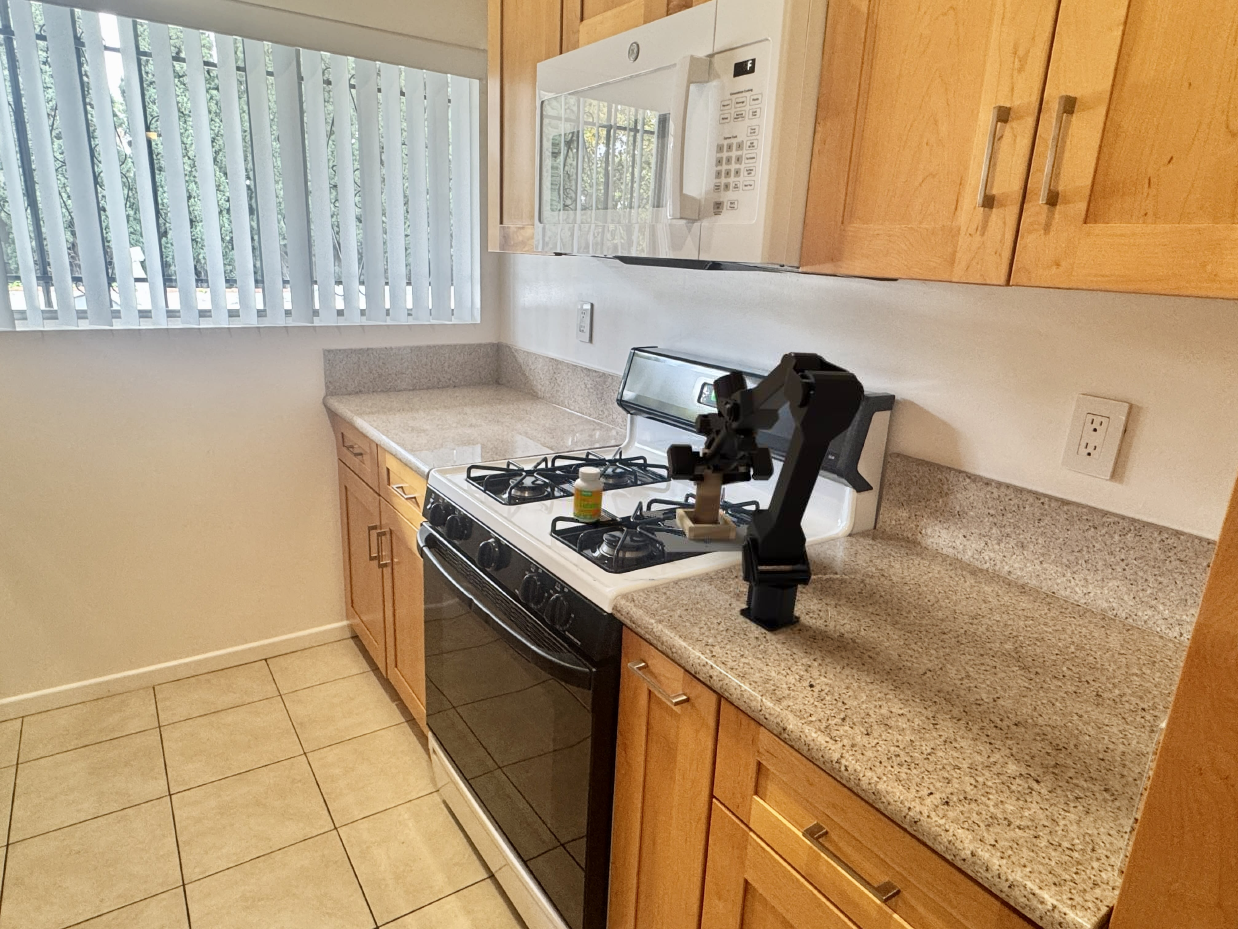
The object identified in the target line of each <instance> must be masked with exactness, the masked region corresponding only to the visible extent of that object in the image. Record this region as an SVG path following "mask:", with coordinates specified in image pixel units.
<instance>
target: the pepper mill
mask: <svg viewBox="0 0 1238 929" xmlns="http://www.w3.org/2000/svg"><path fill="white" fill-rule="evenodd" d="M703 452H708V449H705V446H704V447H702V448H701V456H703ZM703 476H704V481H703V482H702V483H700V484H699V485H696V490H695V501H694V508H693V509H694V518H693V521H694V522H695V523H697V524H718V516H719V509H720V507H721V505H720V504H721V497H722V488H723V486H722V481H723V474H721V473H712V472H711V470H705V471H704V473H703Z"/></svg>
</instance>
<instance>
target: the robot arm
mask: <svg viewBox="0 0 1238 929" xmlns="http://www.w3.org/2000/svg"><path fill="white" fill-rule="evenodd" d="M712 387H713V392H714V399H715V406H716V409H717V412H708V413H699V414H698V415H697V416H696V417H695V422H694V428H695V432H696V434H698V435H703V436H705V437H706V439H705V441H704V444H703V445H704V447H705V449H708V452H703V456H702V455H701V451H699V450H693V446H692V445H691V443H690V444H689V443H688V444H687V443H685V444H684V443H672V444H670V445H669V446H668V448H667V451H666V458H667V463H668V464H667V465H668V472H669V478H670V479H671V480H673V481H689V482H693V486H694V487H695V486H696V487H697V485H699V484H700V483H702V482H703V481H704V476H703V473H704V471H705V470H711V472H712V473H721V474H723V481H722V487H723V486H727V485H733V484H740V483H748V482H751V481H752V480H753V481H755V482H756V481H758V482H760V481H763V482H764V481H765V482H767V481H769V480H770V479H771V478H772V477H773V475H774V474H775V467H774V462H773V457H772V452H771V449H770V447H768V446H767V445H759V444H758V440H757V438H758V436H759V431H767V430H768V431H769V430H772V429H773V428H774V427H775V425H776V424H777V423H778V422H779V420H780V418H781V417H780V410H781V409H782V408H783V407H785V405H787V404H789V405H788V407H789V411H790V413H791V416H792V419H793V422H794V426H795V427H794V430H793V433H792V436H791V439H790V441H789V444H788V448H787V451H786V454H785V457H784V460H783V462H782V465H781V468H780V471H779V474H778V478H777V481H776V484H775V487H774V489H773V493H772V496H771V498H770V501H769V505H768V508H755V509H754V510H753V511H752V512H751V516H750V519H749V520H750V521H749V522H748V523H749V525H748V527H747V533H746V535H745V536H744V538H743V541H742V546H741V548H742V551H741V569H742V580H743V582H746V583H748V589H747V596H746V603H745V606H746V607H743V608H741V609H740V610H739V614H740V615H741V616H744V617H745V618H747V619H748V620H750V621H752V622H754V623H755V624H757V625H758V626H760V627H762V628H763V629H765V630H767V631H769V632H774V631H777V630H779V629H782V628H785V627H788V626H791V625H793V624H797V623H799V622H800V621H801V618H800V617H799V616H798V615H796V614H795V608H796V602H797V596H798V590H799V586H809V585H810V584H809V583H810V581H811V579H812V571H811V567H810V566H811V565H810V562H809V556H808V552H807V548H806V547H807V546H806V543H807V538H806V535H805V533H804V530H803V526H802V520H803V518H804V516H805V512H806V510H807V506H808V505H809V501H810V499H811V497H812V494H813V491H814V488H815V486H816V483H817V480H818V477H819V475H820V472H821V470H822V466H823V465H824V461H825V459H826V456H827V453H828V452H829V448H830V446H831V443H832V441H833V440H835V439H836V438H837V437H838V436H840V435H842V433H844V432H845V431H847V430H848V429H849V428H850V427H851V426H852V424H853V422H854V420H855V418H856V416H857V414H858V413H859V411H860V409H861V407H862V405H863V403H864V401H865V399H864V398H865V389H864V388H865V387H864V385H863V383H862V381H860V380H859V379H858V377H857V375H856V374H855V373H853V372H850V371H849V370H848V369H846V368H843V367H841V366H839V365H836V364H834V363H832V362H830V361H827V360H826V359H825V358H824V357H823V356H822V355H820V354H818V353H816V352H801V351H798V352H795V351H790V352H788V353H783V355H782V356H781V359H780V363H779V364H777V365H776V366H775V367H774V368H773V369H772V370H771V371H770V372H769V373H768V374H767V375H766V376H765V377H764V378H763V379H762V380H761V381H760V382H759V383H757V385H755V386H754V387H750V388H748V382H747V379H746V377H745V376H744V374H743V371H742V370H730V372H729V373H728V374H724V375H722V376H719V377H718V378H716V379H714V380H713V382H712ZM751 472H752V474H751ZM786 566H787V567H789V568H785V567H786ZM759 567H784V568H759ZM790 567H791V568H790Z"/></svg>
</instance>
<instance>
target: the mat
mask: <svg viewBox="0 0 1238 929" xmlns="http://www.w3.org/2000/svg"><path fill="white" fill-rule="evenodd" d="M668 511H669V510H641V514H643V516H644V517H645V516H650V515H651V516H654V517H655V516H656V517H660V518H663V515H662V514H663V513H664V512H668ZM692 524H697V523H692ZM664 525H666V526H672V527H674V528H677V529H680V527H679V526H678V524H677V523H676V521H675V519H673V520H665V522H664ZM747 527H748V525H745V524H744V525H743V524H741V525H740V527H738V528H736V534H735V539H712V540H711V541H708V542H711V543H709V544H708V542H707V544H706V543H704V542H705V541H702V542H701V541H700V540H699V539H687V538H686V537H685V538H684V537H682V536H678V535H674V534H671V533H666V532H654V531H653V533H654V535H655V536H656V538H657V539H659V540H660V541H662V542H663V543H664V545H665V547H664V548H663V549H664V551H665V553H702V552H705V553H706V552H707V553H710V552H711V553H713V552H715V553H717V552H718V553H719V552H742V548H741V546H742V541H743V538H744V536H745V535H746V533H747ZM659 540H658V541H659ZM660 541H659V542H660ZM706 546H707V547H706Z"/></svg>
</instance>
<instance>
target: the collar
mask: <svg viewBox="0 0 1238 929" xmlns="http://www.w3.org/2000/svg"><path fill="white" fill-rule="evenodd" d="M675 511H676V519H675V521H676V523H677V524H678V526H679V527H680V529H682V530H683V531H684V532H685V534H686V537H687V539H708V538H709V539H735V534H736V525H735V524H734V523H733V522H732V521H731V519H730V518H729V517H728V516H727V515H726V514H725V513H724V512H723V511H724V510H723V509H722V508H719V516H718V521H719V522H720V524H692V523H695V522H694V521H693V518H694V508H676V509H675Z"/></svg>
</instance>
